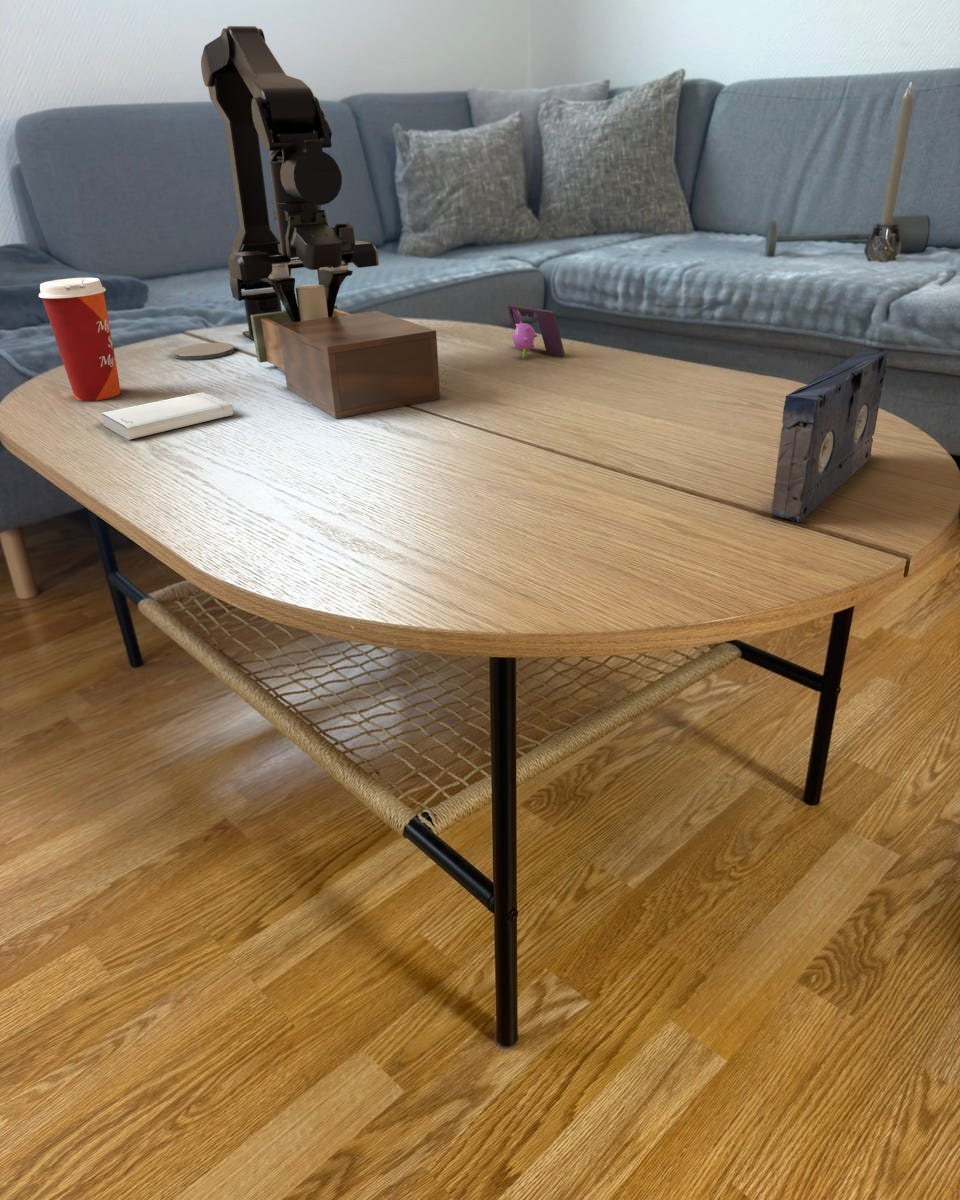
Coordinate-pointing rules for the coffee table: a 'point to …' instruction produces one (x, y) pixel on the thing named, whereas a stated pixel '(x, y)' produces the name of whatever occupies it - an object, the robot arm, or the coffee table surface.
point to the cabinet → (360, 362)
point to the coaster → (203, 351)
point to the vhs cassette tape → (827, 433)
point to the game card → (526, 333)
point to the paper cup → (83, 336)
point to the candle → (311, 302)
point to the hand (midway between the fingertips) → (313, 327)
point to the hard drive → (166, 415)
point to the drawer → (273, 335)
